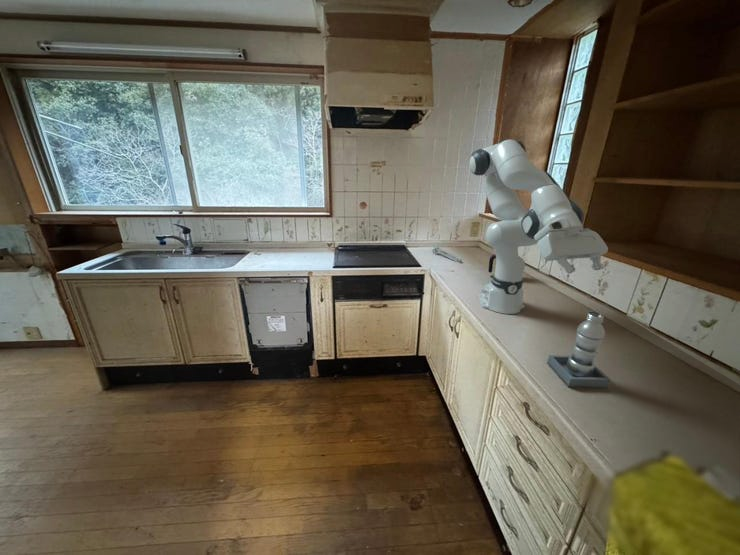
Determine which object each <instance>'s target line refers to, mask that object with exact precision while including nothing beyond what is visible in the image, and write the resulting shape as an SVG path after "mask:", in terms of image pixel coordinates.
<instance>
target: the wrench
mask: <svg viewBox="0 0 740 555" xmlns="http://www.w3.org/2000/svg"><path fill="white" fill-rule="evenodd" d="M429 246H433V249H430V250H431V252H432V253H433V254H434V255H436V256H437V255H438V254H439V255H442V256H445V258H448V259H450V260H452V261H453V262H456V263H458V264H461V263H462V262H463V260H462V258H460V257H458V256H456V255H454V254H452V253H450V252H448V251H446V250H444V249H442V248H441V247H440V246H439V245H438V244H437V243H436V242H431V243H430V245H429Z"/></svg>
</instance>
